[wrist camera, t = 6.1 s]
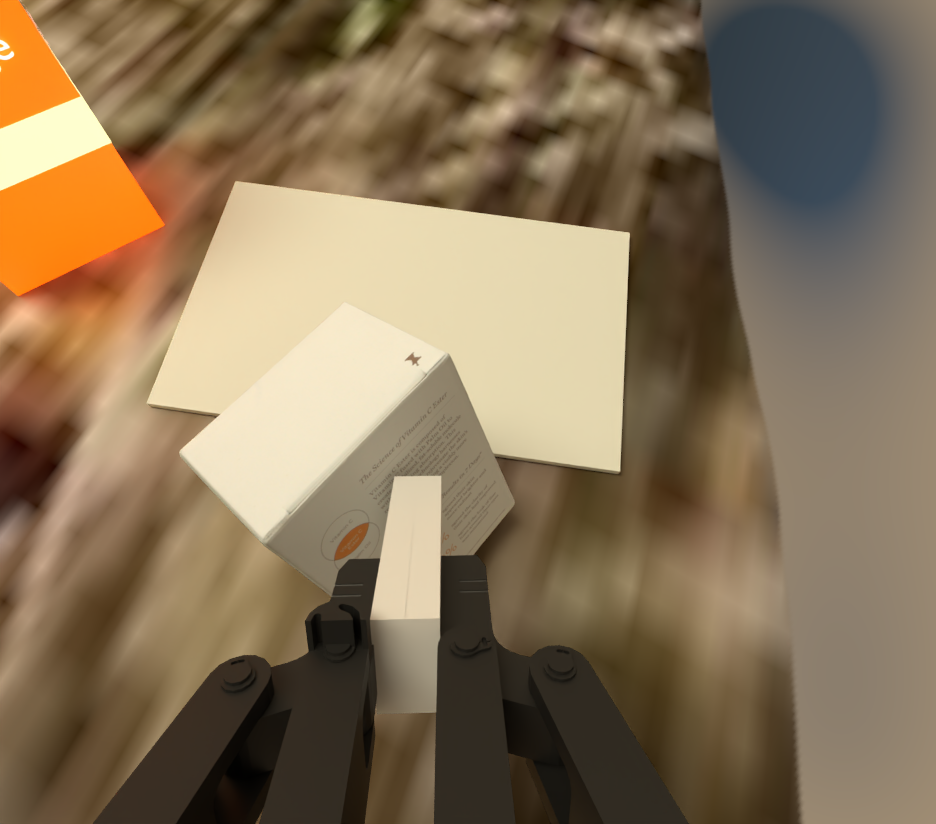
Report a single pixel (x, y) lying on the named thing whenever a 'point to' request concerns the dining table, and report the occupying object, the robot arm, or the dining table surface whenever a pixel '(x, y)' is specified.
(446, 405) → the small box
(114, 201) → the orange juice
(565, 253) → the mat
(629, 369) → the dining table surface
